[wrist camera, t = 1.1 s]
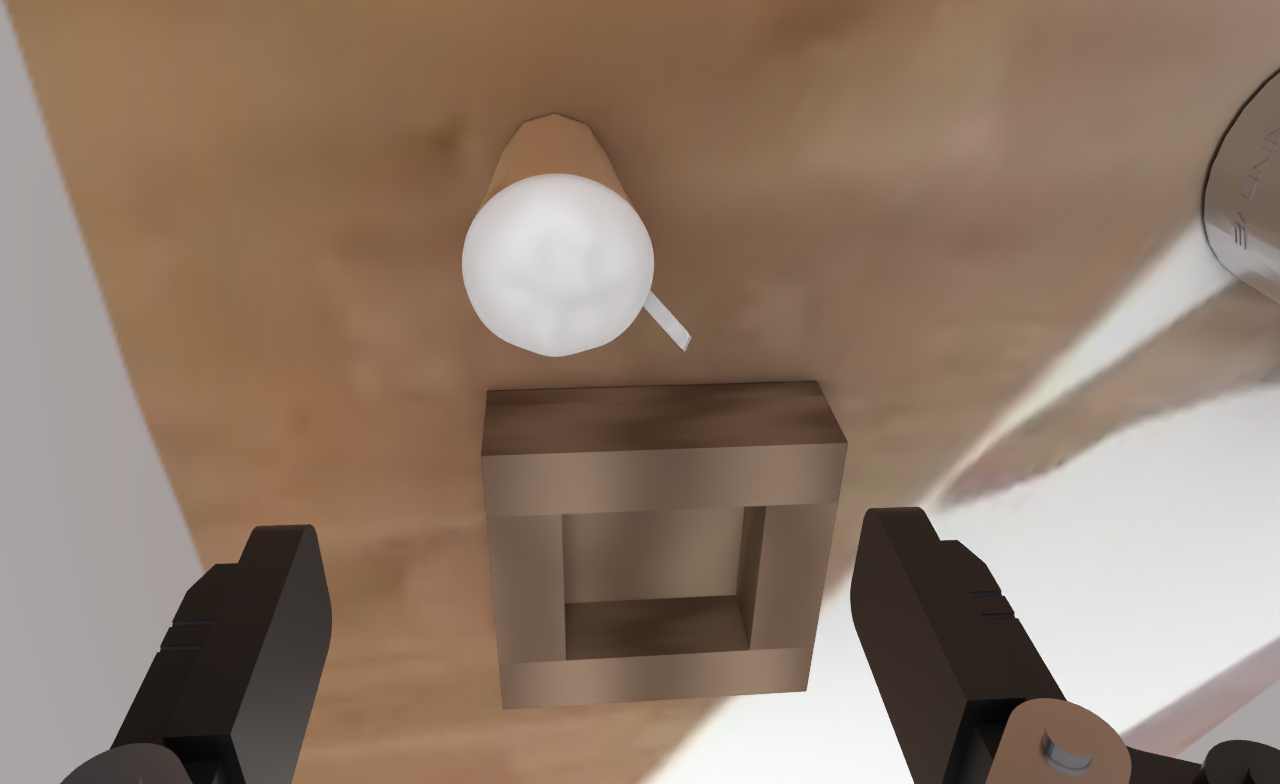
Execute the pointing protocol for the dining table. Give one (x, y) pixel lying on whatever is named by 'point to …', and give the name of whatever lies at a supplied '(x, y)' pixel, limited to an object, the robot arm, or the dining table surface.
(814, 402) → the socket block
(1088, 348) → the dining table surface
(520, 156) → the milkshake
